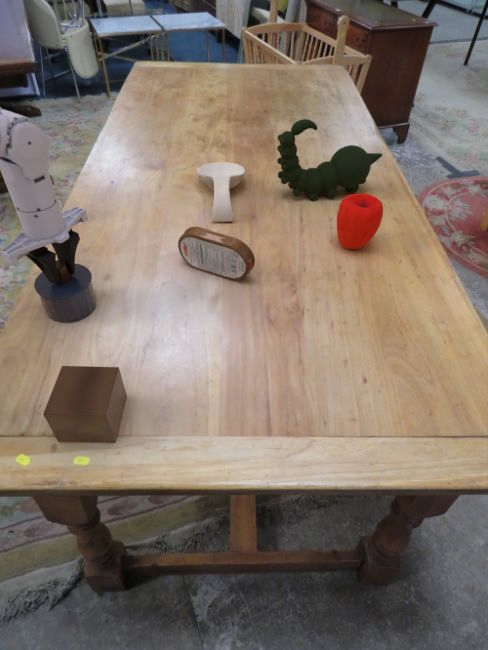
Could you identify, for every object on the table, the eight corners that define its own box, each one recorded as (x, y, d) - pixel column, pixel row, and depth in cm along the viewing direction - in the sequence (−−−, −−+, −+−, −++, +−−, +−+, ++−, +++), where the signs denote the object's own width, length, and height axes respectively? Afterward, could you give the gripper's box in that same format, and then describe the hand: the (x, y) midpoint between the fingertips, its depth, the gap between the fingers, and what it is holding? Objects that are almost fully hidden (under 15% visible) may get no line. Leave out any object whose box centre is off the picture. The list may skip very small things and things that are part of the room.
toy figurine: (284, 213, 103) (384, 196, 105) (284, 132, 89) (400, 114, 91) (274, 193, 109) (369, 178, 111) (273, 115, 95) (381, 99, 98)
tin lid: (26, 299, 69) (18, 281, 66) (45, 264, 75) (39, 247, 73) (83, 300, 69) (78, 282, 66) (97, 265, 75) (93, 248, 73)
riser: (57, 441, 57) (42, 414, 53) (74, 394, 63) (61, 365, 58) (115, 442, 57) (105, 415, 53) (127, 395, 63) (118, 366, 58)
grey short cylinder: (39, 322, 73) (28, 298, 69) (55, 289, 79) (46, 265, 75) (89, 323, 73) (82, 299, 69) (101, 290, 79) (95, 267, 75)
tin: (254, 278, 82) (256, 240, 76) (247, 288, 80) (249, 250, 74) (185, 257, 87) (182, 220, 81) (177, 265, 85) (173, 228, 79)
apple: (358, 263, 86) (371, 215, 79) (322, 245, 91) (331, 198, 83) (381, 245, 91) (395, 198, 84) (346, 229, 95) (356, 182, 88)
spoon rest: (197, 174, 112) (196, 146, 107) (243, 173, 113) (244, 146, 108) (197, 224, 95) (195, 193, 90) (250, 223, 96) (251, 193, 91)
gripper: (12, 234, 56) (44, 311, 65) (93, 188, 65) (111, 262, 74) (-24, 218, 58) (12, 295, 68) (59, 176, 67) (81, 249, 77)
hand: (62, 277), depth 71 cm, fingers closed on tin lid, 2 cm apart
